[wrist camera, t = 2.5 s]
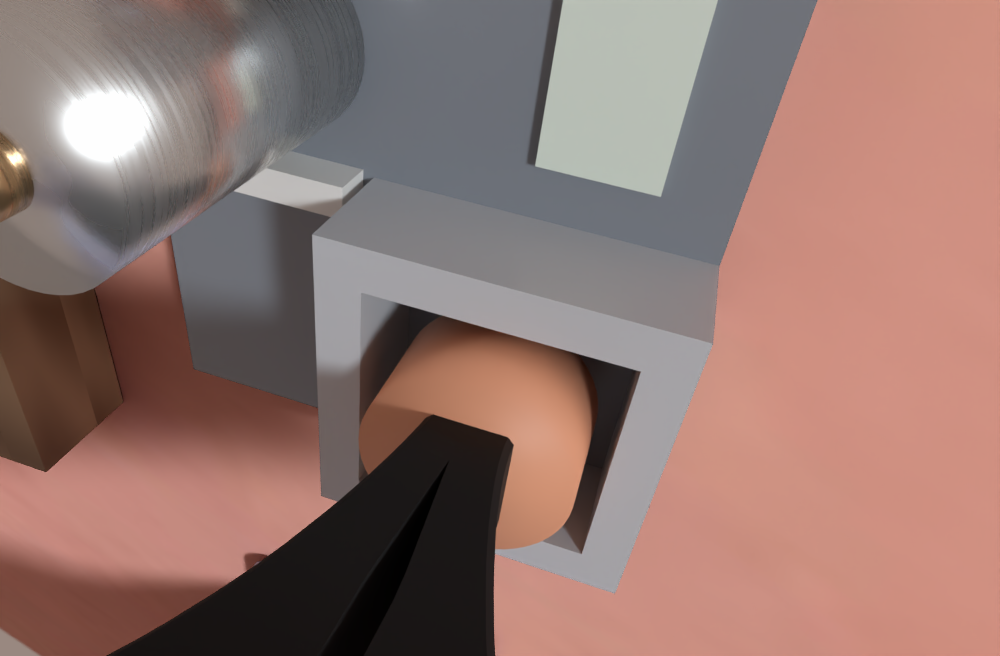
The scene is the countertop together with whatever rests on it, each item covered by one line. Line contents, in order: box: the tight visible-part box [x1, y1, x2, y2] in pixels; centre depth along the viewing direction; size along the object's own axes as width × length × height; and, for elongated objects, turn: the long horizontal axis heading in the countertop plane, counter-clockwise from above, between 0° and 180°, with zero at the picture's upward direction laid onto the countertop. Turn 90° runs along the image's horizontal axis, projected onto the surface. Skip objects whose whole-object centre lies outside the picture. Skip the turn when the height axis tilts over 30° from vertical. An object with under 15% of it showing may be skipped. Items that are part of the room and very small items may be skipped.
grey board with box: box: [171, 0, 817, 593], centre depth 12 cm, size 11×10×3 cm
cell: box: [0, 0, 365, 295], centre depth 9 cm, size 3×3×6 cm
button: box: [358, 316, 598, 549], centre depth 12 cm, size 4×4×2 cm
